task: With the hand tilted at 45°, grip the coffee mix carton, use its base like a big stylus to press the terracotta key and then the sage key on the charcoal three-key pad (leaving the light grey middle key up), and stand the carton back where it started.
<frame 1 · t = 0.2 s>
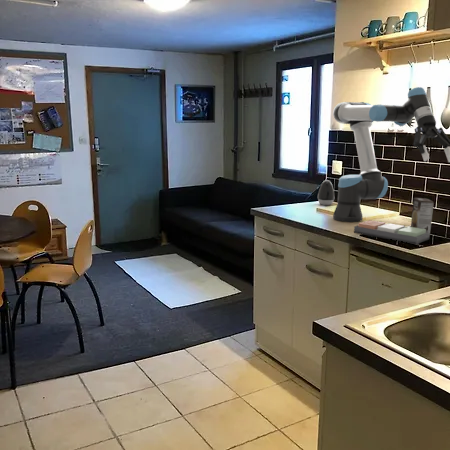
hand: (439, 160, 213), 35 cm above the worktop, tool tilted 35°, fingers open, 13 cm apart
keypad: (390, 235, 224), on the worktop
dark grey egg shape: (325, 204, 304), on the worktop
coffee box: (419, 233, 231), on the worktop
key grey: (391, 228, 224), point 3 cm above the worktop, slide at 0.0 cm
key terracotta: (371, 225, 230), point 3 cm above the worktop, slide at 0.0 cm
key sage: (411, 232, 217), point 3 cm above the worktop, slide at 0.0 cm
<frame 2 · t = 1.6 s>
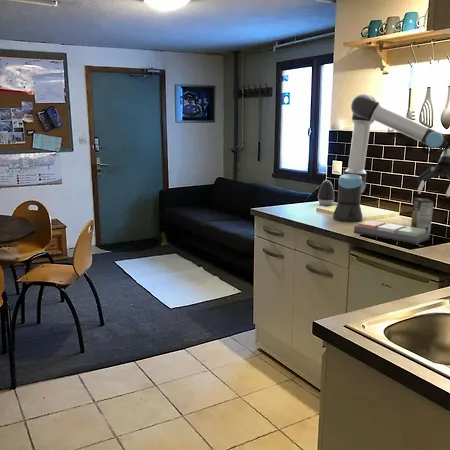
hand: (432, 193, 235), 18 cm above the worktop, tool tilted 45°, fingers open, 13 cm apart
nothing on the worktop moved.
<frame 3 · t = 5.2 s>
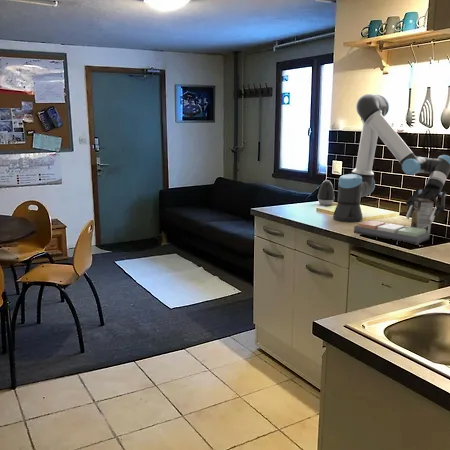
hand: (418, 219, 227), 7 cm above the worktop, tool tilted 45°, fingers closed on coffee box, 10 cm apart
coffee box: (419, 233, 231), on the worktop, touching gripper
everything else where it was.
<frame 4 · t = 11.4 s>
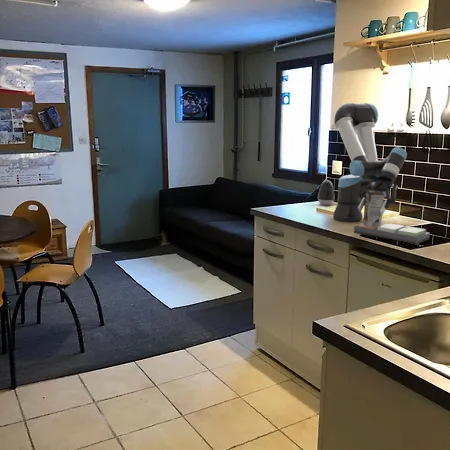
hand: (370, 211, 227), 10 cm above the worktop, tool tilted 45°, fingers closed on coffee box, 10 cm apart
coffee box: (371, 225, 230), point 3 cm above the worktop, touching gripper, key terracotta
key terracotta: (371, 227, 230), point 2 cm above the worktop, slide at 1.2 cm, touching coffee box
everything else where it was.
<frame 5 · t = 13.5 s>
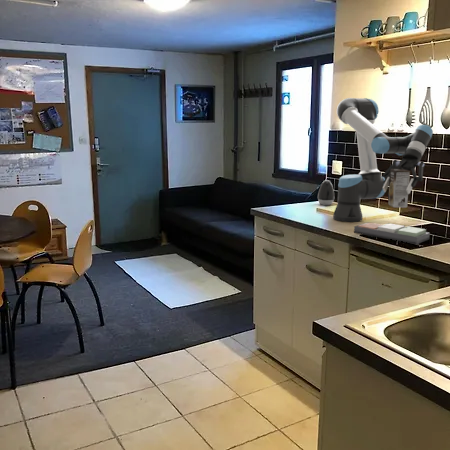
hand: (395, 190, 215), 21 cm above the worktop, tool tilted 45°, fingers closed on coffee box, 10 cm apart
coffee box: (397, 206, 219), point 14 cm above the worktop, touching gripper
key terracotta: (371, 227, 230), point 2 cm above the worktop, slide at 1.2 cm
everything else where it was.
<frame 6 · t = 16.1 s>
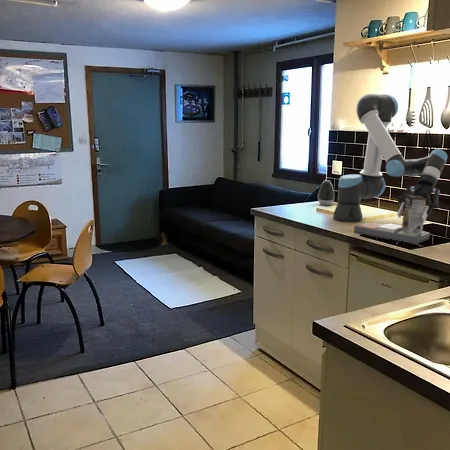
hand: (410, 217, 214), 10 cm above the worktop, tool tilted 45°, fingers closed on coffee box, 10 cm apart
coffee box: (411, 232, 217), point 3 cm above the worktop, touching gripper, key sage
key sage: (411, 234, 217), point 2 cm above the worktop, slide at 1.1 cm, touching coffee box
everything else where it was.
when the fingers open (8 cm above the worktop, at t = 21.6 s): coffee box drops 1 cm, on the worktop.
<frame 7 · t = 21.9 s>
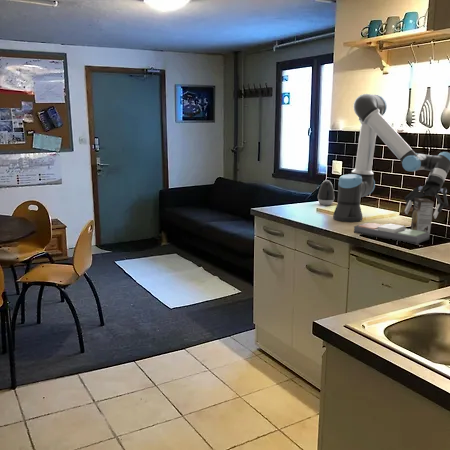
hand: (419, 214, 227), 9 cm above the worktop, tool tilted 45°, fingers open, 13 cm apart
coffee box: (419, 233, 231), on the worktop
key sage: (411, 234, 218), point 2 cm above the worktop, slide at 1.2 cm
everything else where it was.
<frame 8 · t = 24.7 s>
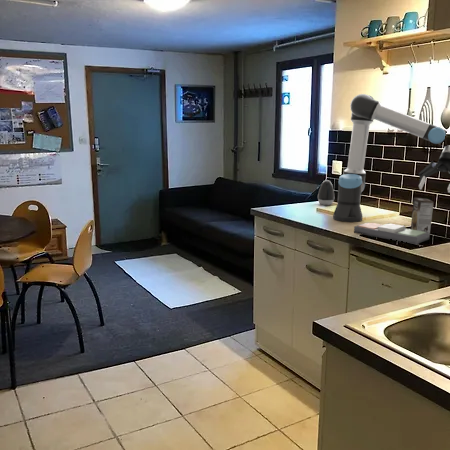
hand: (433, 189, 235), 20 cm above the worktop, tool tilted 45°, fingers open, 13 cm apart
nothing on the worktop moved.
at the end: key terracotta slide at 1.2 cm; key sage slide at 1.2 cm; key grey slide at 0.0 cm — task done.
